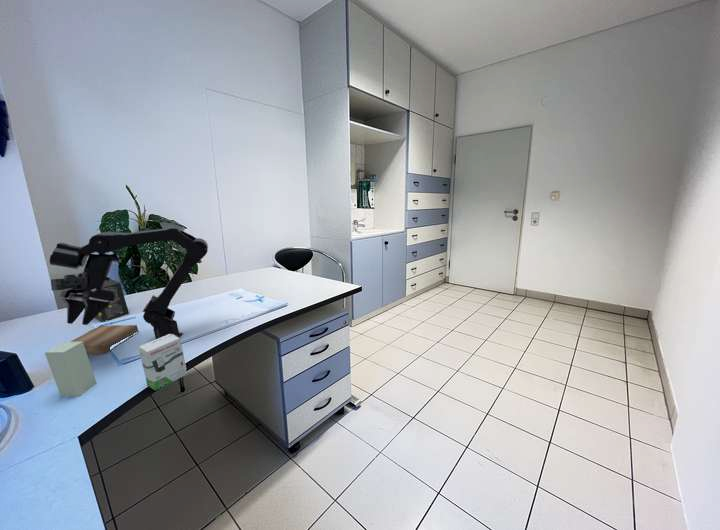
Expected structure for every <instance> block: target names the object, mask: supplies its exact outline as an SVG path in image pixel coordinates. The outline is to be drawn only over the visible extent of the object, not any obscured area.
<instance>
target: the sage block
mask: <svg viewBox="0 0 720 530" xmlns="http://www.w3.org/2000/svg"><path fill="white" fill-rule="evenodd" d="M44 355H45V357H46V360H47V362H48V366H49V368H50V371H51V374H52V376H53V379H54V381H55V385H56V388H57V389H58V392H59V395H60V397H80V396H81V395H83V394H84V393H85V392H86V391H88V390H89V389H91V388H92V387H94V386H95V385H96V384H97V380H96V378H95V374H94V372H93V367H92V365H91V362H90V360H89V357H88V356H89V355H88V354H87V353H86V350H85V347H84V344H83V342H70V341H64V342H62V343H60V344H57V345H55V346H54V347H53V348H51V349H48V350H47V351H45V352H44Z"/></svg>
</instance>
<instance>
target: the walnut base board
mask: <svg viewBox="0 0 720 530" xmlns="http://www.w3.org/2000/svg"><path fill="white" fill-rule="evenodd" d="M136 332H138V333H139V328H138V325H137V324H125V325H123V324H121V325H110V324H109V325H105V324H104V325H99V326H97V327H95V328H93V329H91V330H90V331H87V332H86V333H83V334H82V335H80V336H78V337H76V338H75V339H72V340H71V341H69V342H83V344H84V347H85V350H86V353H87V355H98V354H99V355H106V354H107V353H109V352H111V351H110V347H111V346H112V345H114V344H116V343H118V342H120V341H121V340H123V339H125V338H127V337H129V336H131V335H133V334H134V333H136Z"/></svg>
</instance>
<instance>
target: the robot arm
mask: <svg viewBox="0 0 720 530" xmlns="http://www.w3.org/2000/svg"><path fill="white" fill-rule="evenodd" d="M164 241H165V242H166V241H173V242H174V243H176V244H177V245H178V246H180V247H181V248H182V249H184V250H186V252H185V255H184V258H183V260H182V261H181V263H180V264H179V266H178V268H177V269H176V271H175V272H174V273H173V275H172V276H171V278H170V279H169V281H168V283H166V286H165V287H164V288H163V290H162V292H161V293H159V295H157V296H155V295H154V294H153V295H152V296H151V298H150V300H148V303H147V304H145V307H144V308H143V310H142V312H143V315H142V318H143V320H144V321H145V323H147V324H149V325H151V326H152V327H153V333H154V338H155V340H156V339H158V338H161V337H163V336H166V335H168V334H174V335H176V336H177V337H179V336H180V337H181V336H183V335H184V334H183V332H180V331H179V330H180V329H179V327H178V326H179V325H178V321H177V320H175V319H174V318H175V315H176V312H175V310H173V309H171V308H169V305H170V304H171V301H172V300H173V298H174V296H175V294H176V293H177V292H178V291H179V289H180V287H181V286H182V284H183V283H184V281H185V280H186V278H187V277H188V276H189V274H190V272H191V271H192V269H194V267H195V266H196V265H197V264H198V263H199V262H200V261H201V260H202V259H203V258H204V257H205V256H207V253H208V250H209V249H208V248H209V245H208V243H207V241H206V240H205V239H204V238H199V237H195V236H193V235H191V234H190V233H187V232H185V231H184V230H182V229H180V228H179V227H177V226H171V227H166V228H158V229H150V230H142V231H134V232H121V231H104V232H100V233H97V234H95V235H92V236H91V238H90V239H89V240H88V244H87V243H86V245H83V246H76V245H72V244H68V243H65V242H59V243H57V244H56V245H55V246H56V247H55V248H54V250H53V251H52V253H51V255H50V256H49V264H50V265H51V266H56V267H63V268H67V269H74V270H78V269H79V268H80V267H84V269H83V271H82V272H81V273H78V274H77V275H76V274H65V275H64V276H63V278H54V279H53V278H51V279H50V286H51V287H50V288H51V291H61V292H60V295H59V298H61V301H62V302H64V304H66V309H67V312H66V313H67V314H66V315H67V317H66V318H67V319H66V323H67V324H71V325H72V324H73V323H74V322H75V321H76V320H77V319H78V318H79V317H80V315H81V314H82V312H83V316H82V321H81V322H82V323H81V324H82V326H83V325H84V326H88V325H89V324H90V323H91V322H92V321H93V320H94V319H96V318H95V317H96V316H97V315H98V314H99V313H100V312H101V311H102V310H103V309H104V308H105V307H106V306H107V305H108V304H110V303H111V302H108V301H114V299H115V296H116V295H115V293H114V292H113V291H108V290H103V287H104V285H105V282H106V281H109V279H111V277H108V276H109V273H110V269H111V267H112V266H113V262H116V263H122V260H121V258H120V257H119V256H118V253H117V252H115V251H117V250H121V249H124V248H126V247H130V246H136V245H143V244H149V243H150V244H152V243H157V242H159V243H160V242H164ZM110 252H114V253H111V254H109V253H110ZM96 253H97V254H96ZM180 337H179V338H180Z"/></svg>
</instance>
